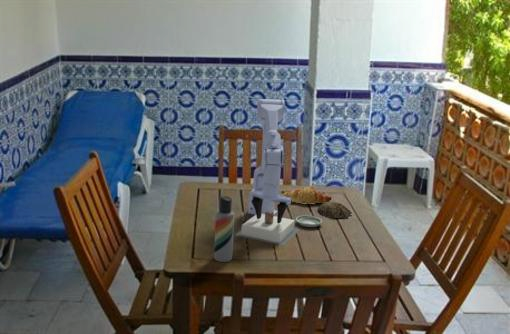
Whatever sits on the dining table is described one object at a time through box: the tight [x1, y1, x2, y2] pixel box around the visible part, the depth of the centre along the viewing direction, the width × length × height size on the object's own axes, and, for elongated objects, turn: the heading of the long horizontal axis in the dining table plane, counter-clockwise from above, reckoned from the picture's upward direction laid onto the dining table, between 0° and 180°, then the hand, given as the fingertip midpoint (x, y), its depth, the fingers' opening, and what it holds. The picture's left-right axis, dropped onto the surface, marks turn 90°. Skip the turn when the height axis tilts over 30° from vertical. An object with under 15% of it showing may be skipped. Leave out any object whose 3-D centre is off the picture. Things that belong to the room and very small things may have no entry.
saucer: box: [295, 214, 323, 228], centre depth 202 cm, size 10×10×2 cm
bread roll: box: [317, 201, 353, 219], centre depth 216 cm, size 13×12×5 cm
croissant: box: [280, 186, 333, 204], centre depth 228 cm, size 21×10×8 cm, turn 87°
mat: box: [234, 227, 301, 247], centre depth 193 cm, size 18×17×1 cm
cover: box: [241, 211, 296, 243], centre depth 192 cm, size 14×14×7 cm
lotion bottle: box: [213, 195, 235, 263], centre depth 168 cm, size 6×6×20 cm
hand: (268, 220), depth 192 cm, fingers open, 7 cm apart
